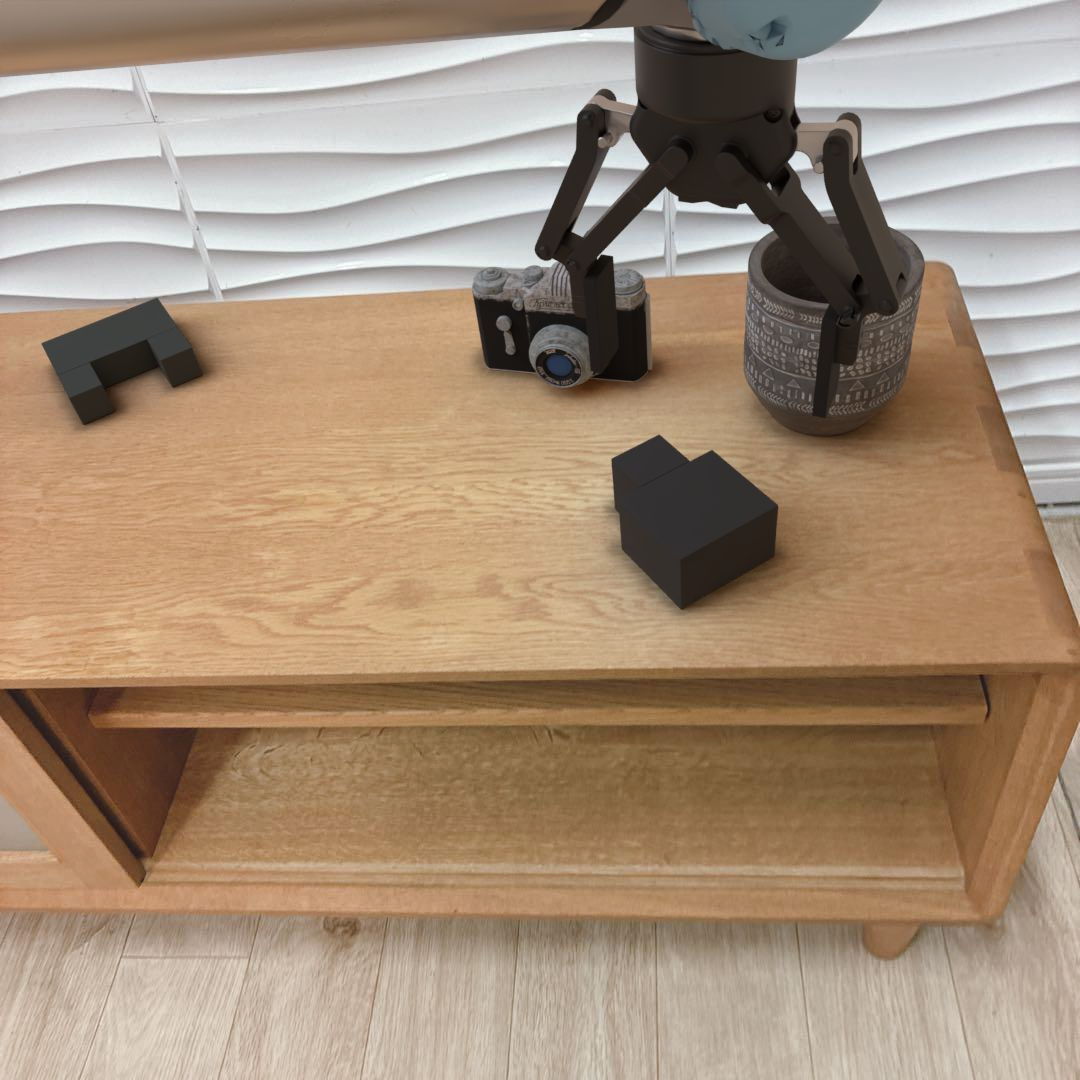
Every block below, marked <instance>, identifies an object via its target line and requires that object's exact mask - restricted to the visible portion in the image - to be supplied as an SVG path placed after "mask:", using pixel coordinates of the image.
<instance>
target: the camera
mask: <svg viewBox="0 0 1080 1080" xmlns="http://www.w3.org/2000/svg"><path fill="white" fill-rule="evenodd" d="M614 278H615V294H616V311H617V327H618V343H619V348H618V350H617V351H616V353H615V354H614V356H613V357H612V359H611V360H610V362H609V363H608V365H607V367H606V368H605V370H604V371H603V373H598V372H593V371H591V369H590V357H589V345H588V334H587V322H586V318H582V317H576V315H575V313H574V311H573V309H572V299H571V289H570V278H569V272H568V271H567V270H566V268H565V266H564V265H563V264H562V263H560V262H558V261H555V262H554V263H553V264H552V265H551V266H550V267H549V266H540V265H537V264H532V265H529V266H526V268H524V270H523V271H522V272H519V273H511V272H508V271H507V270H506V269H505V268H503V267H500V266H487V267H485V268H482V269H480V270H478V271H477V272H476V273H475V274H474V276H473V282H472V284H471V291H472V298H473V302H474V308H475V315H476V320H477V326H478V327H477V328H478V333H479V338H480V344H481V350H482V356H483V361H484V364H485V367H486V368H487V369H488V370H492V371H501V372H502V371H504V372H512V373H513V372H514V373H522V374H523V373H524V374H534V375H537V376H538V377H539V378H540V379H541V380H542V381H543V382H544V383H546V384H548V385H550V386H551V387H554V388H559V389H565V388H566V389H567V388H571V387H575V386H578V385H582V384H584V383H585V382H587V381H589V379H591V380H599V381H610V382H612V381H613V382H624V383H637V382H639V381H641V380H642V379H643V378H645V377H646V376H647V375H648V373H649V371H652V370H653V345H652V344H653V343H652V318H651V317H652V315H651V313H652V312H651V311H652V310H651V293H649V292H647V290H646V289H647V287H646V280H645V278H644V276H643V274H641V273H640V272H639V271H637V270H635V269H633V268H632V269H631V268H619V269H614Z"/></svg>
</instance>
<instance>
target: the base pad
mask: <svg viewBox="0 0 1080 1080" xmlns="http://www.w3.org/2000/svg"><path fill="white" fill-rule="evenodd" d="M41 347H42V349H43V351H44V352H45V355H46V356H47V358H48V360H49V362H50V363H51V366H52V369H53V370H54V372H55V374H56V376H57V378H58V380H59V382H60V385H61V386H62V387H63V390H64V392H65V394H66V395H67V397H68V400H69V401H70V404H71V405H72V408H73V409H74V411H75V413H76V415H77V416H78V418H79V420H80V422H81V424H82V425H86V424H89V423H92V422H93V421H96V420H98V419H100V418H102V417H105V416H109V415H110V414H112V413H115V412H116V410H115V407H114V405H113V403H112V401H111V399H110V397H109V396H108V393H107V391H106V388H108V387H111V386H114V385H117V384H118V383H121V382H123V381H125V380H128V379H130V378H133V377H135V376H138V375H140V374H143V373H145V372H147V371H150V370H152V369H154V368H157V367H158V368H159V369H160V370H161V372H162V374H163V375H164V377H165V379H166V380H167V381H168V384H170V387H171V388H174V387H177V386H179V385H181V384H184V383H187V382H189V381H191V380H193V379H196V378H198V377H200V376H203V375H204V373H203V371H202V369H201V366H200V363H199V361H198V358H197V356H196V353H195V351H194V349H193V346H192V345H191V344H190V343H189V341H188V340H187V338H186V337H185V335H184V334H183V333H182V331H181V330H180V328H179V326H178V325H177V324H176V322H175V320H174V319H173V317H172V316H171V315H170V313H169V312H168V310H167V309H166V308H165V306H164V305H163V303H162V302H161V301H160V299H159V298H158V297H155V298H153V299H150V300H147V301H145V302H142V303H139V304H137V305H135V306H132V307H130V308H127V309H125V310H124V309H123V310H122V311H119V312H117V313H114V314H112V315H109V316H107V317H104V318H102V319H101V318H100V319H99V320H96V321H94V322H91V323H89V324H86V325H83V326H81V327H78V328H76V329H73V330H70V331H68V332H66V333H63V334H61V335H58V336H55V337H53V338H50V339H48V340H45V341H42V342H41Z"/></svg>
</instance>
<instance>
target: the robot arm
mask: <svg viewBox="0 0 1080 1080" xmlns="http://www.w3.org/2000/svg"><path fill="white" fill-rule="evenodd" d="M882 2H883V0H0V78H9V77H19V76H20V77H22V76H33V75H34V76H35V75H45V74H46V75H47V74H59V73H71V72H83V71H93V70H96V71H97V70H108V69H121V68H131V67H143V66H156V65H157V66H158V65H167V64H180V63H191V62H204V61H205V62H206V61H217V60H229V59H231V60H232V59H242V58H254V57H266V56H278V55H291V54H303V53H315V52H328V51H340V50H352V49H366V48H375V47H376V48H377V47H389V46H400V45H401V46H402V45H413V44H425V43H437V42H450V41H451V42H452V41H462V40H475V39H488V38H498V37H510V36H511V37H512V36H513V37H514V36H521V35H522V36H524V35H535V34H549V33H560V32H571V31H572V32H573V31H583V30H584V31H585V30H586V31H587V30H606V29H624V28H633V49H634V50H633V52H634V75H635V76H634V77H635V92H636V96H637V103H636V105H635V104H630V103H626V102H621V101H617V96H616V95H615V93H614V92H613V91H612V90H611V89H609V88H601V89H599V90H598V91H597V92H596V93H595V94H594V95H593V96H592V97H591V98H590V99H589V100H588V101H587V103H586V104H585V105H584V107H583V108H581V110H580V111H579V112H578V114H577V115H576V133H575V135H576V136H575V151H574V153H573V154H572V158H571V160H570V163H569V165H568V167H567V169H566V172H565V174H564V177H563V179H562V182H561V184H560V186H559V188H558V190H557V193H556V195H555V198H554V200H553V203H552V205H551V208H550V210H549V212H548V214H547V217H546V220H545V222H544V224H543V226H542V228H541V231H540V233H539V235H538V238H537V240H536V242H535V245H534V254H535V255H536V257H537V258H538V259H539V260H542V261H543V262H549V261H551V260H554V261H555V262H560V263H562V264H563V265H564V266H565V268H566V270H567V271H568V272H569V278H570V289H571V299H572V309H573V311H574V313H575V315H576V317H582V318H586V322H587V334H588V345H589V357H590V369H591V371H593V372H598V373H603V371H604V370H605V368H606V367H607V365H608V363H609V362H610V360H611V359H612V357H613V356H614V354H615V353H616V351H617V350H618V348H619V343H618V327H617V311H616V294H615V278H614V271H615V265H614V256H613V255H608V254H603V252H604V251H605V250H606V249H607V248H608V247H609V246H610V244H612V243H613V242H614V240H616V238H617V237H618V236H619V235H621V233H622V232H623V231H624V230H625V229H626V228H627V227H628V226H629V225H630V224H631V223H632V222H633V221H634V220H635V218H637V216H638V215H639V214H640V213H641V212H642V211H643V210H644V209H646V208H647V207H648V206H649V205H650V204H651V203H652V202H653V201H654V200H655V199H656V197H658V195H659V194H660V193H661V192H662V191H663V190H664V189H667V191H668V192H669V193H671V194H672V195H674V196H676V197H677V201H678V202H679V203H687V204H698V203H711V204H712V205H715V206H717V207H719V208H724V209H731V210H737V209H738V208H739V206H741V205H746V206H747V207H748V208H749V210H750V211H751V212H752V213H753V215H754V216H755V217H756V219H757V220H758V221H759V222H760V223H761V224H763V225H768V226H769V227H770V228H771V229H772V231H773V230H774V232H775V233H776V234H777V235H778V237H779V238H780V239H781V241H782V242H783V243H784V245H785V246H786V247H787V248H788V250H789V251H790V252H791V254H792V255H793V256H794V258H795V259H796V260H797V261H798V263H799V264H800V265H801V267H802V268H803V269H804V271H805V272H806V273H807V274H808V276H809V277H810V278H811V280H812V281H813V282H814V284H815V285H816V286H817V288H818V289H819V290H820V291H821V293H822V294H823V295H824V297H825V298H826V299H827V301H828V302H829V306H828V308H827V310H826V312H825V314H824V316H823V318H822V324H821V333H820V343H819V353H818V362H817V372H816V382H815V391H814V401H813V411H812V416H816V417H821V418H826V415H827V413H828V411H829V408H830V406H831V403H832V401H833V399H834V396H835V394H836V392H837V389H838V381H839V373H840V365H841V364H842V365H848V366H852V365H853V364H854V362H855V361H856V359H857V357H858V354H859V352H860V350H861V347H862V345H863V338H864V331H865V324H866V317H867V315H869V314H871V313H879V314H880V315H883V316H892V315H894V314H895V313H896V312H897V311H898V308H899V306H900V304H901V301H902V299H903V296H904V293H905V291H906V288H907V286H908V283H909V278H908V275H907V273H906V270H905V268H904V265H903V262H902V260H901V257H900V255H899V252H898V250H897V247H896V245H895V242H894V239H893V237H892V234H891V232H890V229H889V227H890V226H889V224H888V221H887V219H886V216H885V214H884V211H883V208H882V206H881V204H880V201H879V198H878V196H877V194H876V191H875V188H874V186H873V184H872V181H871V178H870V175H869V174H868V170H867V168H866V165H865V163H864V160H863V157H862V153H863V152H862V145H863V143H862V142H863V141H862V140H863V137H862V131H863V129H862V128H863V127H862V120H861V118H860V117H859V115H858V114H856V113H854V112H851V111H847V112H842V114H840V115H839V116H838V118H837V119H836V121H834V122H802V121H801V119H800V117H799V115H798V111H797V108H796V89H797V88H796V86H797V73H798V60H800V59H805V58H809V57H811V56H814V55H817V54H820V53H822V52H824V51H826V50H828V49H830V48H832V47H833V46H835V45H836V44H838V43H839V42H841V41H842V40H843V39H845V38H846V37H848V36H849V35H851V34H852V33H853V32H854V31H855V30H857V29H858V28H859V27H860V26H862V25H863V23H864V22H866V20H867V19H868V18H869V17H870V16H872V14H873V13H874V12H875V11H876V10H877V8H878V7H879V6H880V5H881V3H882ZM627 133H628V134H629V135H630V137H631V140H632V141H633V143H634V144H635V145H636V147H637V148H638V150H639V151H640V153H641V155H643V157H644V158H645V160H646V161H647V163H648V164H647V166H645V168H644V169H643V170H642V172H641V173H640V174H638V176H637V177H636V178H635V179H634V180H633V181H632V182H631V183H630V184H629V186H628V187H627V188H626V189H625V190H624V191H623V192H622V193H621V194H620V196H618V198H617V199H616V200H615V201H614V202H613V203H612V204H611V205H610V207H608V209H607V210H606V211H605V212H604V213H602V215H601V216H600V217H599V219H598V220H597V221H596V222H595V223H594V224H593V225H592V226H591V227H590V228H589V229H588V230H587V231H586V232H585V233H584V235H583V236H581V235H579V234H578V233H575V232H573V230H574V228H575V226H576V223H577V222H578V219H579V216H581V213H582V210H583V208H584V206H585V204H586V202H587V199H588V197H589V195H590V192H591V191H592V189H593V186H594V184H595V181H596V179H597V177H598V175H599V173H600V171H601V168H602V166H603V164H604V161H605V159H606V157H607V155H608V153H609V151H610V150H611V148H614V147H615V146H616V145H618V143H619V141H621V139H622V138H623V136H624V135H625V134H627ZM796 152H800V153H803V154H804V155H805V156H807V157H808V159H809V161H810V164H811V167H812V170H813V172H814V173H815V174H817V175H822V174H823V182H824V187H825V191H826V194H827V197H828V200H829V202H830V204H831V207H832V210H833V212H834V214H835V216H836V217H837V219H838V221H839V224H840V226H841V229H842V231H843V233H844V236H845V238H846V241H847V243H848V245H849V248H850V250H851V253H852V255H853V257H854V258H853V257H852V256H851V254H850V253H849V252H848V250H847V249H846V248H845V246H844V245H843V244H842V242H841V241H840V240H839V238H838V237H837V236H836V234H835V233H834V232H833V230H832V229H831V228H830V226H829V225H828V224H827V222H826V221H825V220H824V218H823V217H824V216H823V215H822V214H821V213H820V211H819V210H818V209H817V208H816V206H815V205H814V203H813V202H812V201H811V200H810V198H809V197H808V195H807V193H805V191H804V190H803V187H802V181H801V179H800V176H799V174H798V173H797V172H796V171H795V169H794V168H793V167H792V165H791V164H790V163H789V161H790V160H791V159H792V158H793V157H794V155H795V154H796ZM768 185H770V187H769V186H768ZM888 226H889V227H888Z"/></svg>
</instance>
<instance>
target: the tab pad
mask: <svg viewBox="0 0 1080 1080" xmlns="http://www.w3.org/2000/svg"><path fill="white" fill-rule="evenodd" d="M610 461H611V463H610V464H611V474H612V488H613V490H612V491H613V501H614V502H613V503H614V510H615V511H617V512H618V517H619V529H620V531H619V532H620V545H621V550H622V551H623V552H624V553H625V554H626V555H627V556H628V557H629V558H630V559H631V560H632V562H634V563H635V564H636V565H637V567H639V568H640V569H641V570H642V571H643V573H644V574H646V575H647V576H648V577H649V579H650V580H651V581H652V582H653V583H654V584H655V585H656V586H657V587H658V588H659V589H660V590H661V591H662V592H663V593H664V594H665V595H666V596H667V597H668V598H669V599H670V600H671V601H672V603H674V604H675V605H676V606H677V607H678V608H679V609H680V610H684V609H685V608H687V607H689V606H691V605H692V604H694V603H696V602H698V601H699V600H702V598H705V597H706V596H708V595H710V594H712V593H714V592H715V591H717V590H719V589H720V588H722V587H723V586H725V585H727V584H729V583H730V582H732V581H734V580H736V579H737V578H739V577H741V576H742V575H744V574H746V573H749V571H751V570H753V569H755V568H756V567H759V566H760V565H762V564H763V563H766V562H767V561H769V560H771V559H772V558H774V557H775V551H776V540H777V528H778V516H779V504H778V503H777V502H775V501H774V500H773V499H772V498H770V497H769V496H768V495H767V494H766V493H765V492H763V491H762V490H761V489H760V488H759V487H757V486H756V485H755V484H754V483H753V482H751V481H750V480H749V479H748V478H746V477H745V476H744V475H743V474H742V473H741V472H740V471H738V470H737V468H735V467H733V466H732V464H730V463H729V462H727V461H726V459H724V458H723V457H722V456H720V455H719V454H718V453H717V452H715V450H713V449H711V450H709V451H707V452H705V453H703V454H701V455H699V456H697V457H696V458H693V459H692V460H689V458H687V457H686V456H685V455H684V454H683V453H682V452H681V451H680V450H678V449H677V448H675V446H674V445H672V444H671V443H670V442H669V441H668V440H667V439H665V438H664V437H663V436H662V435H661V434H657V435H655V436H653V437H651V438H649V439H647V440H645V441H643V442H641V443H639V444H637V445H636V446H633V447H632V448H629V449H628V450H625V451H624V452H622V453H620V454H618V455H615V456H614V457H612V458H611V460H610Z"/></svg>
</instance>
